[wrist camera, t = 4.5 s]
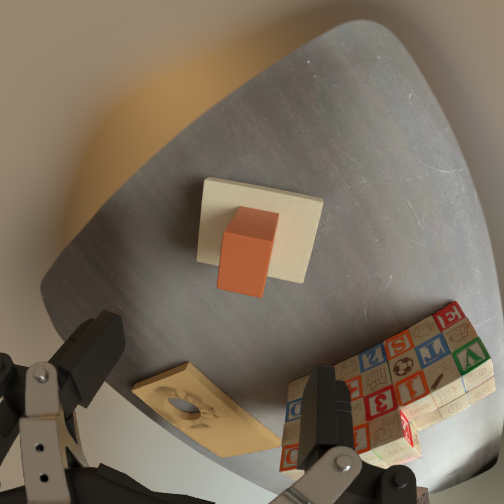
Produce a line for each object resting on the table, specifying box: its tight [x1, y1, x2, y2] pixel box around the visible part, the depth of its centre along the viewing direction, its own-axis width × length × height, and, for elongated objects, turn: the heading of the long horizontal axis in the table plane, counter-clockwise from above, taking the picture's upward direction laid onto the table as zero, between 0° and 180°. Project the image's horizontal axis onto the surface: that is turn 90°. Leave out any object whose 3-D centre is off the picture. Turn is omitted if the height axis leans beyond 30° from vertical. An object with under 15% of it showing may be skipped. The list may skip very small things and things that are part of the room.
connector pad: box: [197, 177, 323, 298], centre depth 22 cm, size 9×7×8 cm
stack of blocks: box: [279, 301, 496, 481], centre depth 25 cm, size 21×6×12 cm, turn 128°
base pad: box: [131, 362, 281, 458], centre depth 38 cm, size 20×12×2 cm, turn 38°
